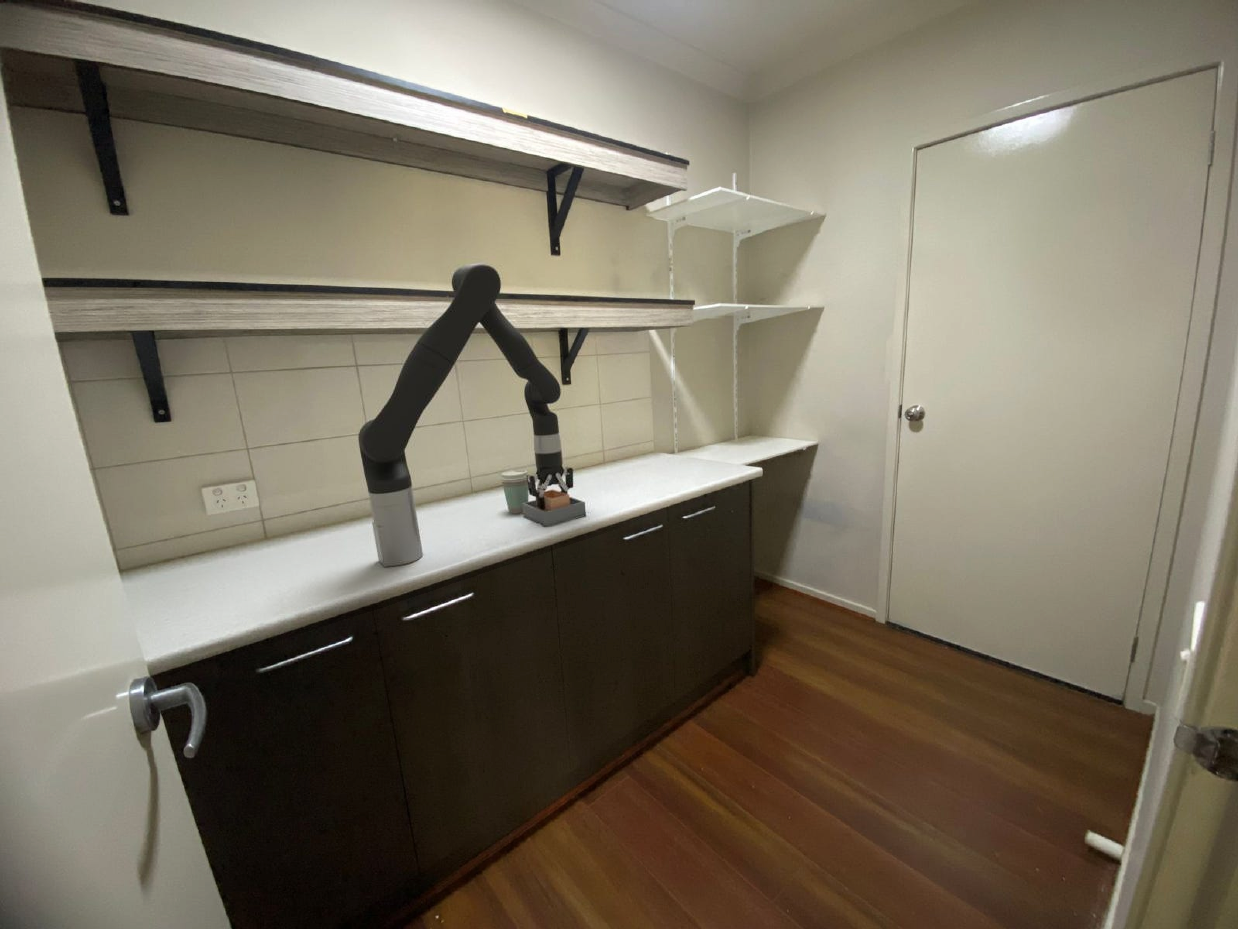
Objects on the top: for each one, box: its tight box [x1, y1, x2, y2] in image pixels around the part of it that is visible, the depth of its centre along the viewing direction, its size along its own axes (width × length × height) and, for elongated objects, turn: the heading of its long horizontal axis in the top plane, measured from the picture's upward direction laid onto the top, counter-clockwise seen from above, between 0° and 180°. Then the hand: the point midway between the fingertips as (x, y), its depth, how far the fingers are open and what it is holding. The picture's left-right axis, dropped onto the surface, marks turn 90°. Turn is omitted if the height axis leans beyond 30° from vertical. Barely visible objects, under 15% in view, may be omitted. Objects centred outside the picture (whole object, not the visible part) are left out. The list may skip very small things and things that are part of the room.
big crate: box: [522, 496, 587, 528], centre depth 141 cm, size 13×13×4 cm
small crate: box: [535, 489, 570, 512], centre depth 140 cm, size 6×9×6 cm, turn 37°
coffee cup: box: [500, 469, 530, 515], centre depth 147 cm, size 8×8×12 cm
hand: (553, 506), depth 141 cm, fingers open, 6 cm apart
